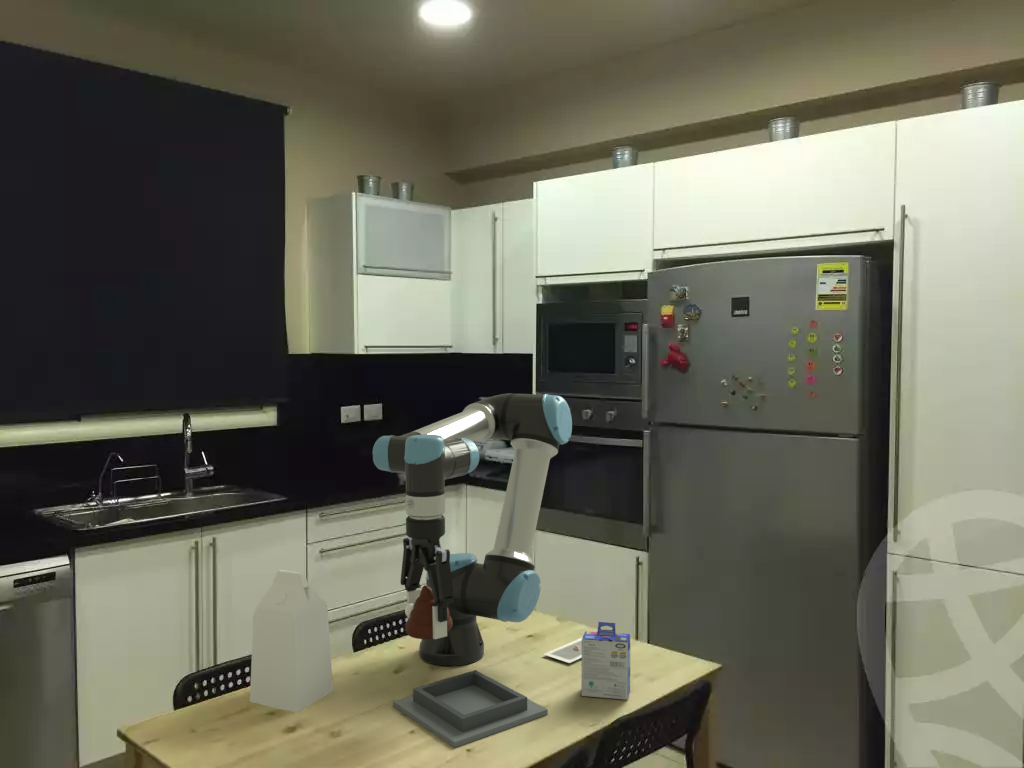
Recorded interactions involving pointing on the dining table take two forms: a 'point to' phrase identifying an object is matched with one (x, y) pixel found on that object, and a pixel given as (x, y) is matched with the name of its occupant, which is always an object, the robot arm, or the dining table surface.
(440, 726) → the pocket plate
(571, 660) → the touchpad
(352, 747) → the dining table surface
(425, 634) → the poop emoji
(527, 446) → the robot arm
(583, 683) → the ink cartridge box
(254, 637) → the milk
